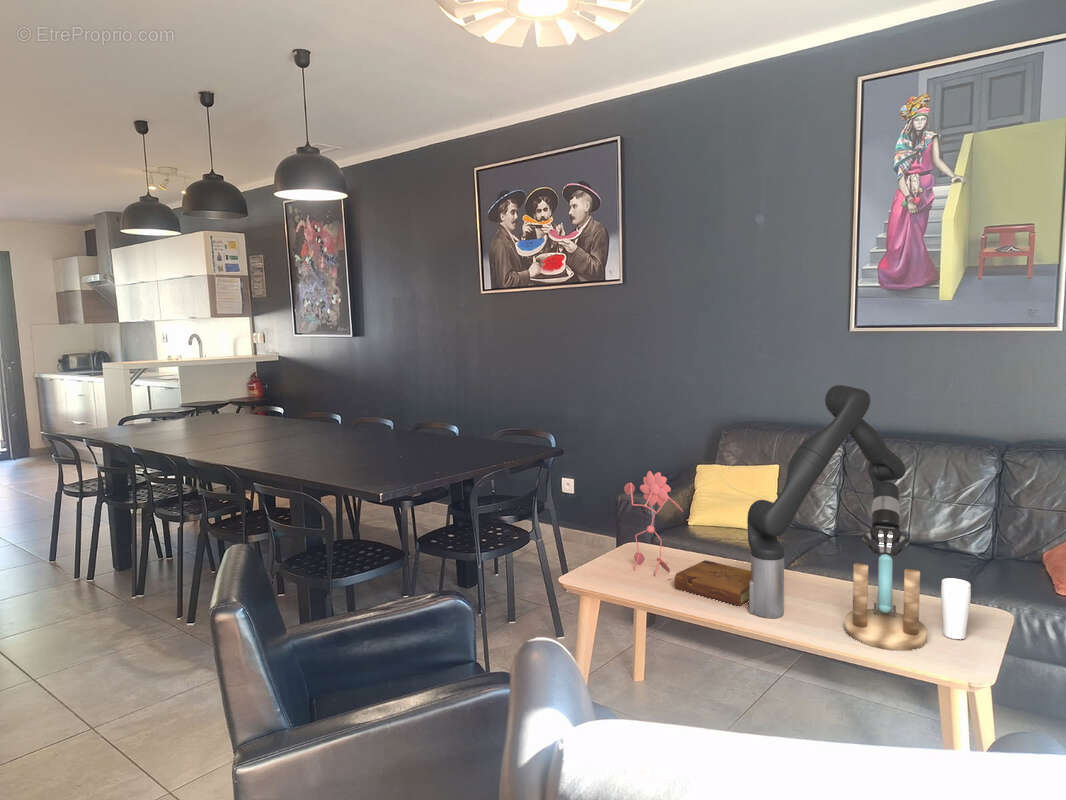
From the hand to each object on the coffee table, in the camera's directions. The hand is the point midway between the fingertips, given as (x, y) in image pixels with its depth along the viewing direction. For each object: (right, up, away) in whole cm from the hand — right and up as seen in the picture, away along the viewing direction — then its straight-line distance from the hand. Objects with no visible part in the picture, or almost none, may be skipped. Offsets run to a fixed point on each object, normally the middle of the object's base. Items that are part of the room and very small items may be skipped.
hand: (885, 566), depth 201 cm
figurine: (-58, -12, +45) cm, 74 cm away
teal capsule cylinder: (-4, -11, -7) cm, 14 cm away
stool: (-6, -15, -12) cm, 21 cm away
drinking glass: (+11, -15, -15) cm, 24 cm away
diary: (-41, -14, +23) cm, 49 cm away
